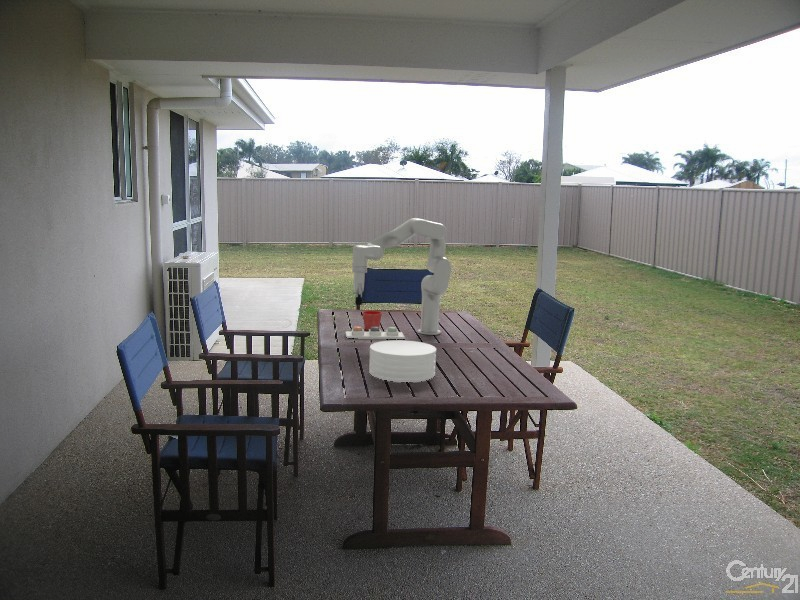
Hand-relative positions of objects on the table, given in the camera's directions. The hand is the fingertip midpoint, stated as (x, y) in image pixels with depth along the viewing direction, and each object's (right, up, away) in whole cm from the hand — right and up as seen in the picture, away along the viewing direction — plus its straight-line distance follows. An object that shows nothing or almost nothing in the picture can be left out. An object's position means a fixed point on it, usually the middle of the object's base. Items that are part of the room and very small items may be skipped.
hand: (358, 304), depth 363 cm
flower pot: (+6, -14, +23) cm, 27 cm away
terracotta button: (-1, -14, +2) cm, 14 cm away
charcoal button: (+8, -14, +3) cm, 17 cm away
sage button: (+17, -14, +5) cm, 23 cm away
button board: (+8, -17, +4) cm, 19 cm away
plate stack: (+22, -29, -66) cm, 75 cm away
